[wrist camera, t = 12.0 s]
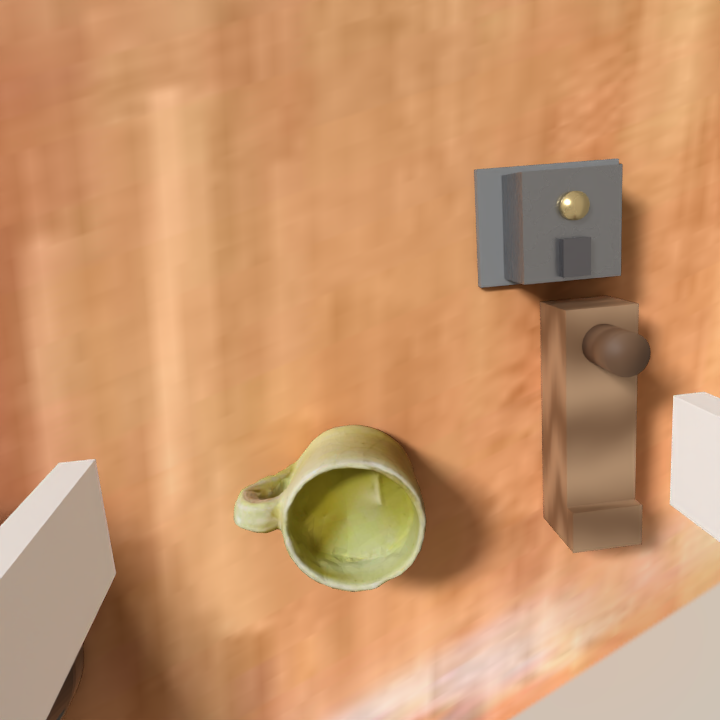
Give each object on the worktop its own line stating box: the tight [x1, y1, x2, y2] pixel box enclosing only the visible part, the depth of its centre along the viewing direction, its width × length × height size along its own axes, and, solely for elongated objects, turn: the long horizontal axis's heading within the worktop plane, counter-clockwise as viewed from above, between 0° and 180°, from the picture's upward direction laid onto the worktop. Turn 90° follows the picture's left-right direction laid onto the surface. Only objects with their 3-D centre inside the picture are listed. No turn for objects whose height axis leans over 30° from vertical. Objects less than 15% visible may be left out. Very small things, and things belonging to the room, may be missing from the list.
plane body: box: [540, 295, 650, 553], centre depth 45 cm, size 17×5×8 cm, turn 4°
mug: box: [234, 425, 426, 592], centre depth 45 cm, size 12×10×10 cm
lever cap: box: [501, 164, 622, 285], centre depth 43 cm, size 7×6×5 cm
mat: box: [474, 159, 619, 288], centre depth 46 cm, size 10×8×1 cm
